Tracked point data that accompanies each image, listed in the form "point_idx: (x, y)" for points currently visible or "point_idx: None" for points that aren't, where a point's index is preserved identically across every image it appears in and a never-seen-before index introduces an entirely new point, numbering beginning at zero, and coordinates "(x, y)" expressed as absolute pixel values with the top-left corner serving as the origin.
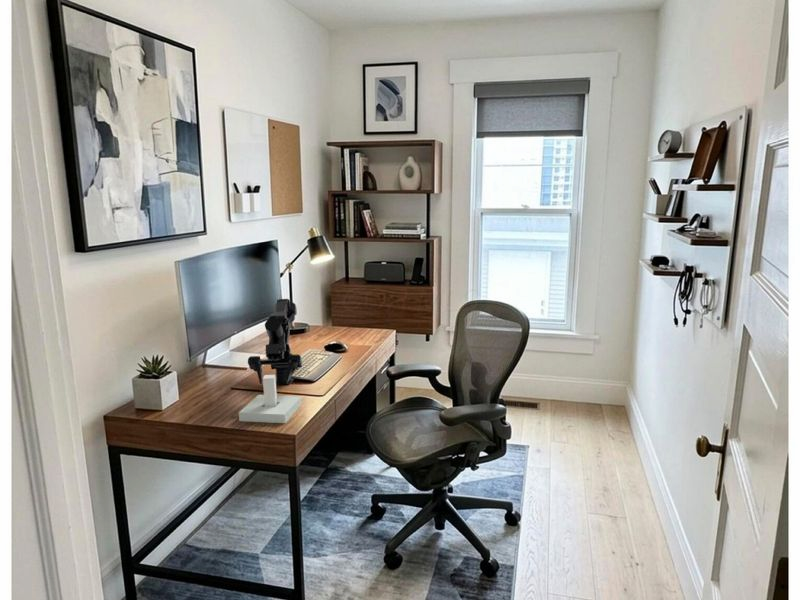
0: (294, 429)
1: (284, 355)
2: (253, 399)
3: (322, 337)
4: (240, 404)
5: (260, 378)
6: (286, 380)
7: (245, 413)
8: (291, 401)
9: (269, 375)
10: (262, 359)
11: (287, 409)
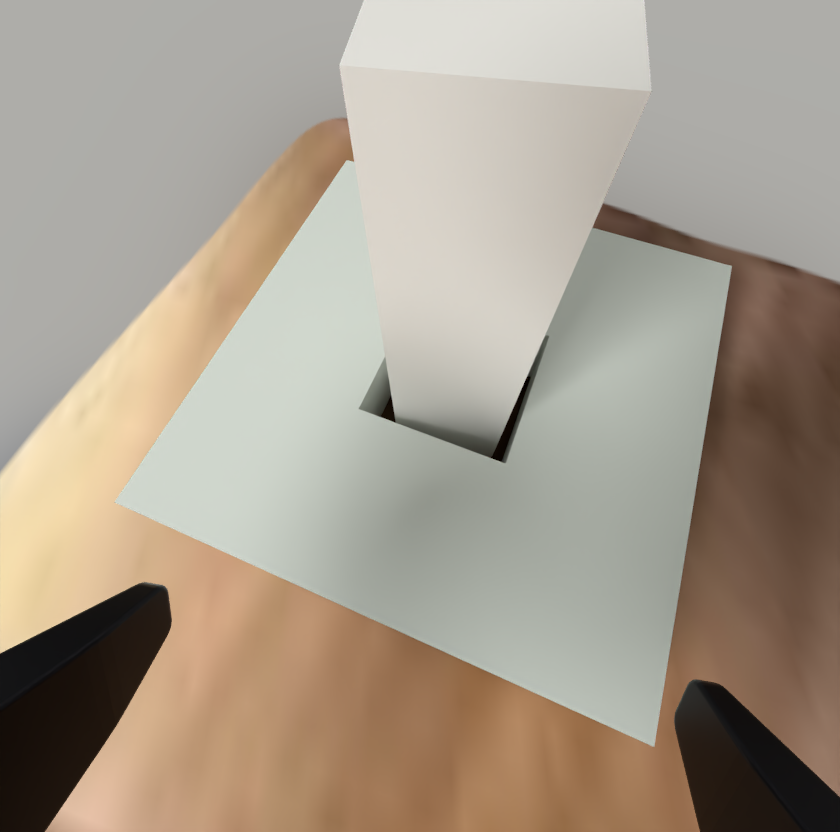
0: (312, 151)
1: None
2: (678, 561)
3: None
4: (824, 743)
5: (787, 787)
6: (136, 602)
7: (664, 252)
8: (249, 386)
9: (500, 39)
10: None
11: (315, 233)
